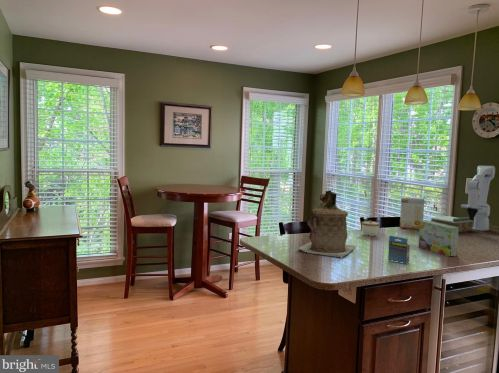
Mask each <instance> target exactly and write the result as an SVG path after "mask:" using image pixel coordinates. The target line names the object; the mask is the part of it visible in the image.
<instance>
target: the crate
mask: <svg viewBox="0 0 499 373" xmlns="http://www.w3.org/2000/svg"><path fill="white" fill-rule="evenodd" d="M430 221H433V222H437V223H441V224H446V225H450V226H454V227H458V228H459V230H458V233H462V232H463V233H464V232H471V231H472V230H473V229H472V228H473V221H471V222H462V223H452V222H446V221H441V220H435V219H430Z"/></svg>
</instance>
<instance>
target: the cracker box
mask: <svg viewBox="0 0 499 373" xmlns="http://www.w3.org/2000/svg"><path fill="white" fill-rule="evenodd" d="M424 211H425V198H418V197H406V196H405V197H404V196H403V197H401V201H400V219H399V228H401V229H408V230H409V229H411V230H416V231H417V230H418V231H419V227H420V221H421V220H424V214H425V212H424Z"/></svg>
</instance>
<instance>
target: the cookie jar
mask: <svg viewBox="0 0 499 373" xmlns="http://www.w3.org/2000/svg"><path fill="white" fill-rule="evenodd" d="M319 201H321V203H320V205H318V206H317V207H315V208H312V209H311V212H310V218H311V219H310V220H308V221H307V226H309V228H310V232H309V237H308V238H309V240H310V242H306V243H305V244H304V245H301V246H299V247H297V248H296V249H297V250H298V251H302V252H304V253H306V252H307V253H306V254H313V255H314V254H316V255H321V256H329V257H333V256H334V258H338V257H342V258H343V257H344V256H346V255H348V254H349V253H351V252H353V251H355V250H356V245H352V244H351V245H350V244H347V243H346V242H347V239H348V226H347V217H348V215H349V213H348V211H345V210H343V209H340V208H339V207H338V206H337V193H336V192H332V190H325V193H322V194H320V195H319ZM354 249H355V250H354Z"/></svg>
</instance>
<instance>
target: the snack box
mask: <svg viewBox="0 0 499 373" xmlns="http://www.w3.org/2000/svg"><path fill="white" fill-rule="evenodd" d="M458 230H459V228H458V227H454V226H450V225H446V224H441V223H437V222H433V221H431V220H427V219H423V220H421V221H420V227H419V230H418V231H419V232H418V248H420V247H422V248H421V249H423V248H425V249H424V250H426V249H428V250H427V251H429V250H431V251H430V252H432V251H434V252H433V253H435V252H437V253H436V254H438V253H440V254H439V255H442V254H443V255H442V256H445V255H447V256H446V257H448V256H454V257H457V256H458V246H459V245H458V244H459V243H458V242H459V232H458Z"/></svg>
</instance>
